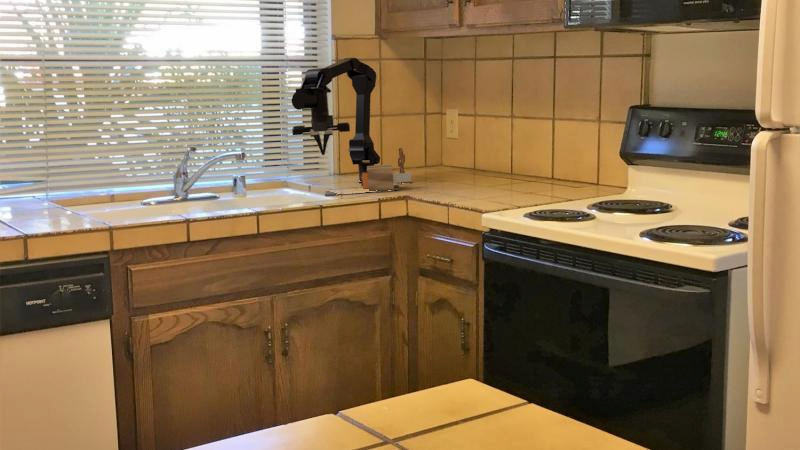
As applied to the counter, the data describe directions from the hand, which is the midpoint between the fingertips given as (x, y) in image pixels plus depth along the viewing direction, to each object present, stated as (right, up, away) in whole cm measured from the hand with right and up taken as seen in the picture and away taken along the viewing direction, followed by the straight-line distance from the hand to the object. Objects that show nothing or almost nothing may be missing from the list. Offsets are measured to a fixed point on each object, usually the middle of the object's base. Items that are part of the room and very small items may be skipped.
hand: (323, 155), depth 300 cm
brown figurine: (+26, -9, +11) cm, 30 cm away
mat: (+13, -12, -5) cm, 19 cm away
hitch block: (+19, -12, -5) cm, 23 cm away
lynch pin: (+21, -11, -5) cm, 24 cm away
